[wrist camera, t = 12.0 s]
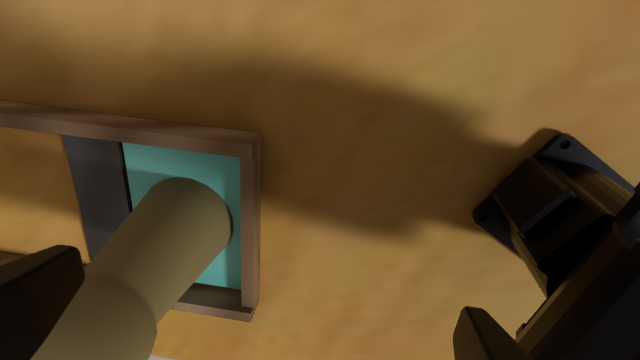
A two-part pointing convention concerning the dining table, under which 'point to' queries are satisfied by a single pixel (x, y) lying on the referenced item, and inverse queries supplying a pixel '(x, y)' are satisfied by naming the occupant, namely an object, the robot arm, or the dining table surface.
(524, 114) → the dining table surface
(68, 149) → the channel
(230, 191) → the pad
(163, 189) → the cork
